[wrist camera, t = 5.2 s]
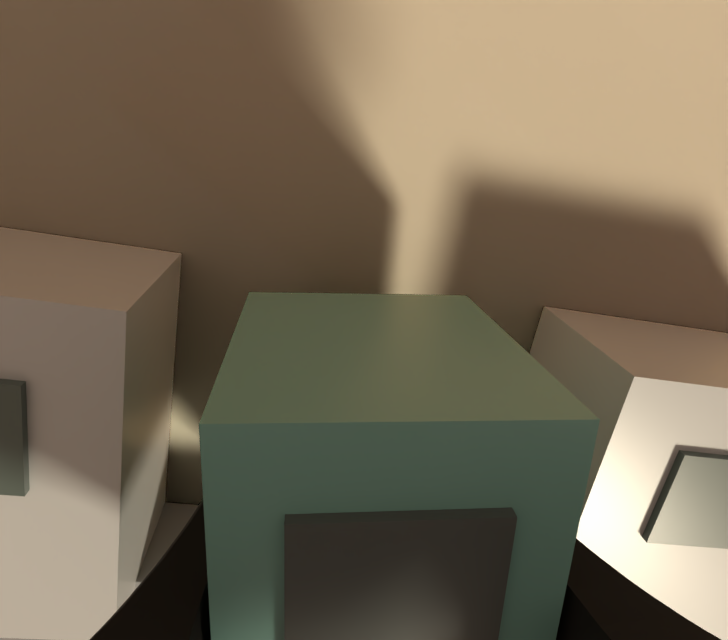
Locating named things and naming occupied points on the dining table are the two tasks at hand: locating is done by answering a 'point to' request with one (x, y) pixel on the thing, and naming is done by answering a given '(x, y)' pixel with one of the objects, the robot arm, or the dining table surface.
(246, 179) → the dining table surface
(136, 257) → the rail mount
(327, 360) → the block
